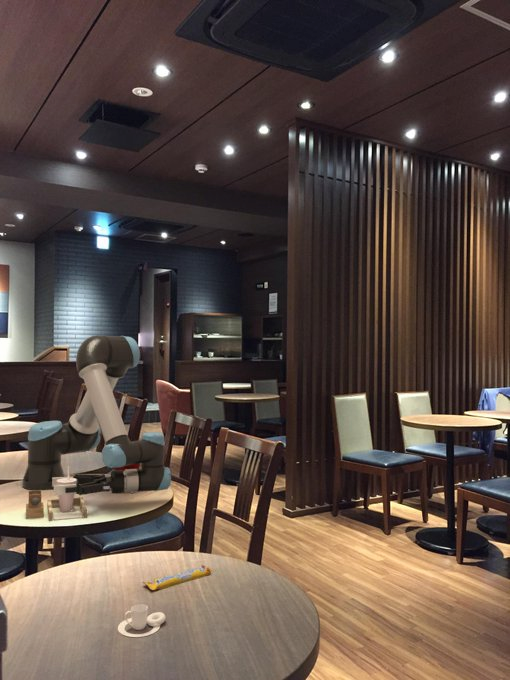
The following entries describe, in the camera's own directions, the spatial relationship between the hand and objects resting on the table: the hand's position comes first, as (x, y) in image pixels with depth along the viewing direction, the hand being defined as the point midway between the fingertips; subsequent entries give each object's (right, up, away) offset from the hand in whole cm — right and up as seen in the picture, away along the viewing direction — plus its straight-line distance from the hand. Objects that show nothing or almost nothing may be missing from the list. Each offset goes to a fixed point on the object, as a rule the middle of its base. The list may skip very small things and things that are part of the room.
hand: (52, 486), depth 183 cm
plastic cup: (+17, -9, +27) cm, 33 cm away
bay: (+5, -8, -1) cm, 9 cm away
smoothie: (+4, -8, +1) cm, 9 cm away
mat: (+6, -8, -5) cm, 11 cm away
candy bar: (+47, -9, -51) cm, 70 cm away
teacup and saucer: (+45, -9, -75) cm, 88 cm away
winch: (-4, -8, -4) cm, 10 cm away
